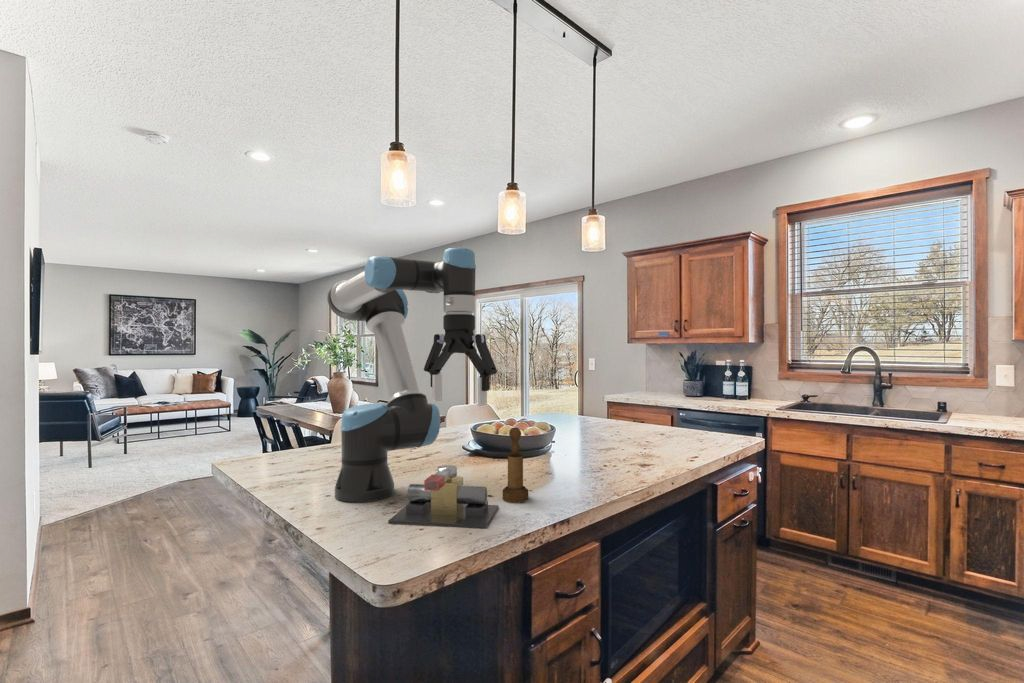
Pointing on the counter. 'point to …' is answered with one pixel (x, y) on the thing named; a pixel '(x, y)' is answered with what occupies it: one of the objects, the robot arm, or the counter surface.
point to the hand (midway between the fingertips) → (459, 403)
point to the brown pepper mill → (515, 472)
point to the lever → (440, 477)
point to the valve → (447, 506)
